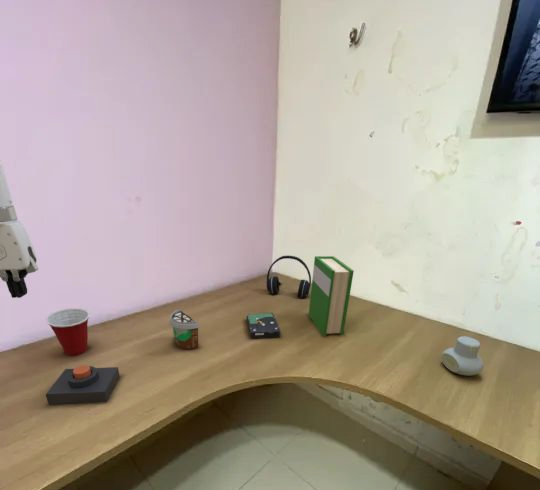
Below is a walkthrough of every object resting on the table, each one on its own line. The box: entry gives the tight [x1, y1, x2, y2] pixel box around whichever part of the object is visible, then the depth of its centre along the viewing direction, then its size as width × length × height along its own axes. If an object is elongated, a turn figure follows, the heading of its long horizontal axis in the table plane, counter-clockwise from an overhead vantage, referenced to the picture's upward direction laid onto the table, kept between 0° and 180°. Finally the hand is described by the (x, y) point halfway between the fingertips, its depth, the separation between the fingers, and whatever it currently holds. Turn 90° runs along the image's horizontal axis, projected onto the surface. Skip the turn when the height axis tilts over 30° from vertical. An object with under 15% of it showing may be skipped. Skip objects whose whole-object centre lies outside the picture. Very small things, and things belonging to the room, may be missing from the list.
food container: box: [169, 308, 200, 350], centre depth 98 cm, size 12×6×10 cm, turn 40°
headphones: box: [266, 255, 312, 298], centre depth 139 cm, size 20×7×18 cm, turn 77°
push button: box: [73, 364, 91, 379], centre depth 76 cm, size 4×4×2 cm
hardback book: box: [308, 255, 355, 337], centre depth 112 cm, size 18×7×24 cm, turn 11°
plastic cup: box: [45, 307, 90, 356], centre depth 92 cm, size 11×11×12 cm
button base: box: [45, 365, 121, 406], centre depth 77 cm, size 13×10×5 cm
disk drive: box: [246, 312, 281, 339], centre depth 112 cm, size 10×3×15 cm
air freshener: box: [441, 335, 485, 377], centre depth 92 cm, size 11×8×10 cm
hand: (19, 295), depth 73 cm, fingers closed
